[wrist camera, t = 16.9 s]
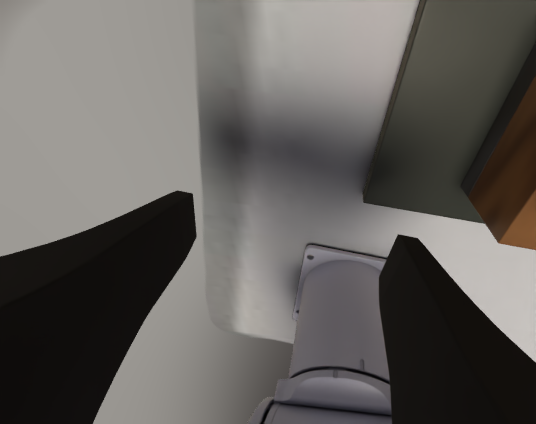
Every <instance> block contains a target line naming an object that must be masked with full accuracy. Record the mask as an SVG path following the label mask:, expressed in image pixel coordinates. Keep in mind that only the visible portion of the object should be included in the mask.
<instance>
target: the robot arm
mask: <svg viewBox="0 0 536 424" xmlns="http://www.w3.org/2000/svg"><path fill="white" fill-rule="evenodd" d="M195 239H196V226H195V213H194V202H193V194H192V193H187V192H182V191H175V192H172V193H170V194H167V195H165V196H163V197H161V198H159V199H157V200H155V201H152V202H151V203H148V204H146V205H144V206H142V207H140V208H137V209H135V210H133V211H131V212H129V213H127V214H124V215H122V216H120V217H118V218H115V219H113V220H110V221H108V222H106V223H104V224H101V225H98V226H96V227H94V228H91V229H89V230H86V231H83V232H81V233H78V234H75V235H73V236H70V237H66V238H63V239H60V240H57V241H54V242H51V243H48V244H45V245H41V246H37V247H34V248H31V249H27V250H23V251H20V252H16V253H13V254H9V255H5V256H1V257H0V424H93V422H94V420H95V417H96V415H97V413H98V410H99V408H100V406H101V404H102V402H103V400H104V398H105V396H106V394H107V391H108V389H109V387H110V385H111V383H112V381H113V379H114V377H115V375H116V373H117V371H118V369H119V367H120V365H121V363H122V361H123V359H124V357H125V355H126V354H127V351H128V350H129V348H130V346H131V344H132V342H133V340H134V339H135V337H136V335H137V333H138V331H139V329H140V327H141V326H142V324H143V322H144V320H145V319H146V317H147V315H148V314H149V312H150V310H151V309H152V307H153V306H154V305H155V303H156V302H157V300H158V299H159V297H160V296H161V294H162V293H163V291H164V290H165V289H166V287H167V286H168V284H169V283H170V281H171V280H172V278H173V277H174V275H175V274H176V273H177V271H178V270H179V268H180V267H181V265H182V264H183V262H184V261H185V259H186V257H187V255H188V253H189V251H190V249H191V247H192V245H193V243H194V241H195ZM309 255H313V256H309ZM293 319H294V320H295V321H298V322H297V328H296V334H295V340H294V346H293V353H292V358H291V364H290V370H289V377H288V379H279V380H278V382H277V388H276V393H275V397H268V398H265V399H264V400H262V401H261V403H260V404H259V405H258V406H257V408H256V410H255V411H254V412H253V414H252V415H251V417H250V418H249V420H248V422H247V424H536V363H535V362H534V361H533V360H532V359H531V358H530V357H529V356H528V355H527V354H526V353H524V352H523V351H522V350H521V349H520V348H519V347H518V346H517V345H516V344H515V343H514V342H513V341H511V340H510V339H509V338H508V337H507V336H506V335H505V334H504V333H503V332H502V331H501V330H500V329H499V328H498V327H497V326H496V325H495V324H494V323H493V322H492V321H491V320H490V319H489V318H488V317H487V316H486V315H485V314H484V313H483V312H482V311H481V310H480V309H479V308H478V307H477V306H476V305H475V304H474V302H473V301H472V300H471V299H470V298H469V297H468V296H467V295H466V294H465V293H464V292H463V290H462V289H461V288H460V287H459V286H458V285H457V284H456V282H455V281H454V280H453V279H452V278H451V277H450V276H449V274H448V273H447V272H446V271H445V270H444V269H443V267H442V266H441V265H440V264H439V263H438V261H437V260H436V259H435V258H434V257H433V255H432V254H431V253H430V252H429V251H428V249H427V248H426V247H425V246H424V245H423V244H422V242H421V241H420V240H419V239H418V238H414V237H409V236H404V235H399V234H398V236H397V238H396V240H395V242H394V244H393V247H392V249H391V251H390V253H389V256H388V258H387V260H386V259H381V258H376V257H371V256H366V255H361V254H356V253H351V252H346V251H341V250H336V249H331V248H326V247H321V246H316V245H308V246H307V247H306V248H305V254H304V259H303V264H302V270H301V275H300V280H299V285H298V291H297V296H296V301H295V307H294V312H293Z"/></svg>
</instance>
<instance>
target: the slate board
mask: <svg viewBox="0 0 536 424" xmlns="http://www.w3.org/2000/svg"><path fill="white" fill-rule="evenodd" d="M535 43H536V0H420V4H419V7H418V10H417V14H416V17H415V20H414V24H413V27H412V30H411V34H410V37H409V40H408V44H407V47H406V50H405V54H404V57H403V60H402V64H401V67H400V70H399V74H398V77H397V80H396V84H395V87H394V90H393V94H392V97H391V100H390V104H389V107H388V110H387V114H386V117H385V120H384V124H383V127H382V130H381V134H380V137H379V140H378V144H377V147H376V150H375V154H374V157H373V160H372V164H371V167H370V170H369V174H368V177H367V180H366V184H365V187H364V190H363V202H364V203H368V204H374V205H380V206H385V207H391V208H397V209H403V210H409V211H414V212H420V213H426V214H432V215H438V216H443V217H449V218H455V219H461V220H467V221H472V222H478V223H484V221H483V220H482V218H481V217H480V215H479V214H478V212H477V211H476V209H475V208H474V206H473V205H472V203H471V202H470V200H469V199H468V197H467V196H466V194H465V193H464V191H463V190H462V188H461V185H462V183H463V181H464V179H465V177H466V175H467V173H468V172H469V170H470V168H471V166H472V164H473V162H474V160H475V158H476V156H477V154H478V152H479V150H480V149H481V147H482V145H483V143H484V141H485V139H486V137H487V135H488V133H489V131H490V129H491V128H492V126H493V124H494V122H495V120H496V118H497V116H498V114H499V112H500V110H501V108H502V106H503V105H504V103H505V101H506V99H507V97H508V95H509V93H510V91H511V89H512V87H513V85H514V84H515V82H516V80H517V78H518V76H519V74H520V72H521V70H522V68H523V66H524V64H525V62H526V61H527V59H528V57H529V55H530V53H531V51H532V49H533V47H534V45H535ZM484 224H485V223H484Z"/></svg>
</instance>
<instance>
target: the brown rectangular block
mask: <svg viewBox="0 0 536 424" xmlns="http://www.w3.org/2000/svg"><path fill="white" fill-rule="evenodd" d="M461 188H462V190H463V191H464V193H465V194H466V196H467V197H468V199H469V200H470V202H471V203H472V205H473V206H474V208H475V209H476V211H477V212H478V214H479V215H480V217H481V218H482V220H483V221H484V223H485V224H486V226H487V227H488V229H489V230H490V232H491V233H492V235H493V236H494V237H495V239H496V240H497V242H498V243H500V244H505V245H511V246H516V247H522V248H527V249H533V250H536V43H535V45H534V47H533V49H532V51H531V53H530V55H529V57H528V59H527V61H526V62H525V64H524V66H523V68H522V70H521V72H520V74H519V76H518V78H517V80H516V82H515V84H514V85H513V87H512V89H511V91H510V93H509V95H508V97H507V99H506V101H505V103H504V105H503V106H502V108H501V110H500V112H499V114H498V116H497V118H496V120H495V122H494V124H493V126H492V128H491V129H490V131H489V133H488V135H487V137H486V139H485V141H484V143H483V145H482V147H481V149H480V150H479V152H478V154H477V156H476V158H475V160H474V162H473V164H472V166H471V168H470V170H469V172H468V173H467V175H466V177H465V179H464V181H463V183H462V185H461Z"/></svg>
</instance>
